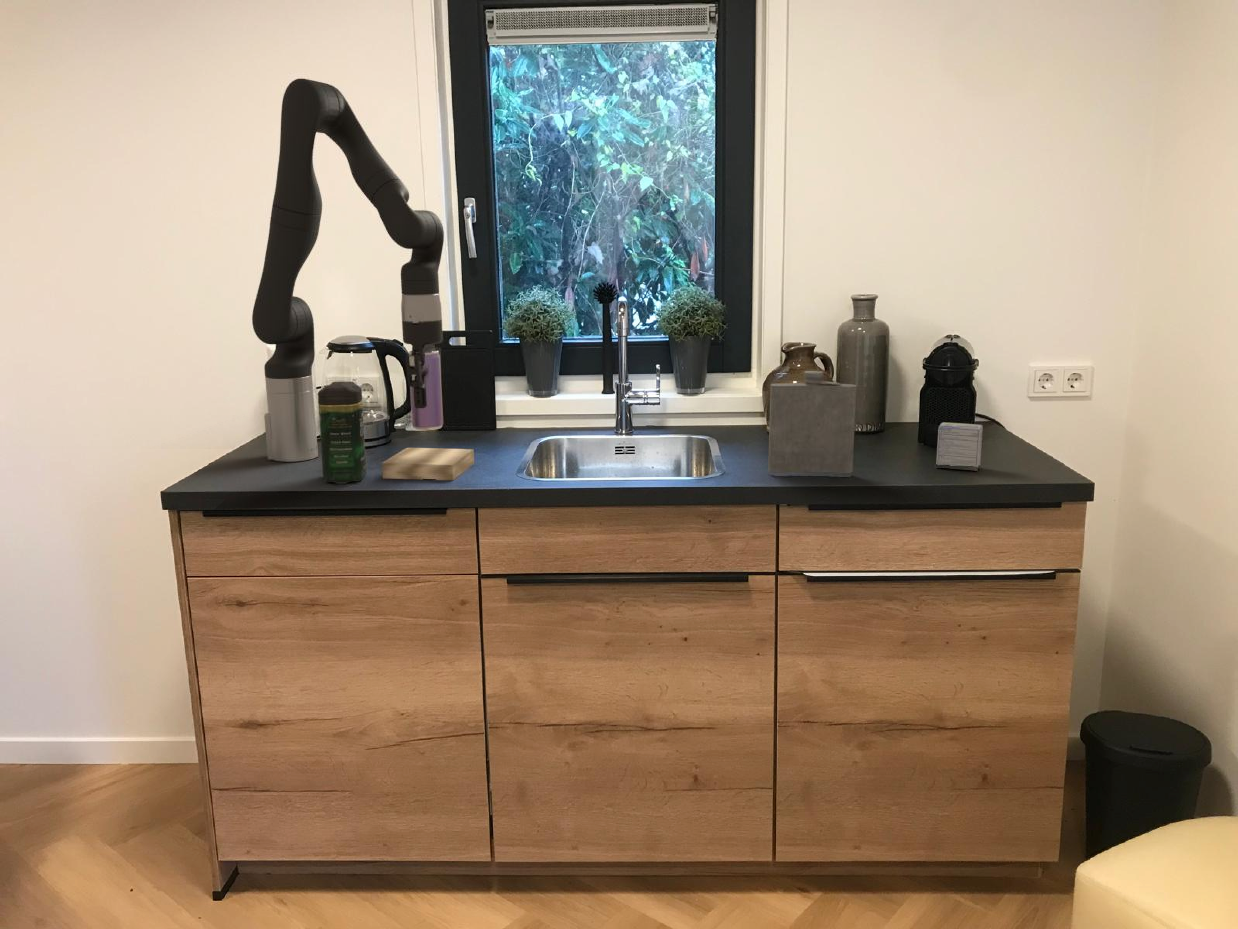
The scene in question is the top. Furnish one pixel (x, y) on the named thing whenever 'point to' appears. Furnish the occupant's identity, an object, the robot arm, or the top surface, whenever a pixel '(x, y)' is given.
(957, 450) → the medicine box
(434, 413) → the beverage can
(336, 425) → the coffee jar
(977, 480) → the top surface
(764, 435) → the top surface
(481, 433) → the top surface
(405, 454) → the plinth
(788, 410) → the hip flask
